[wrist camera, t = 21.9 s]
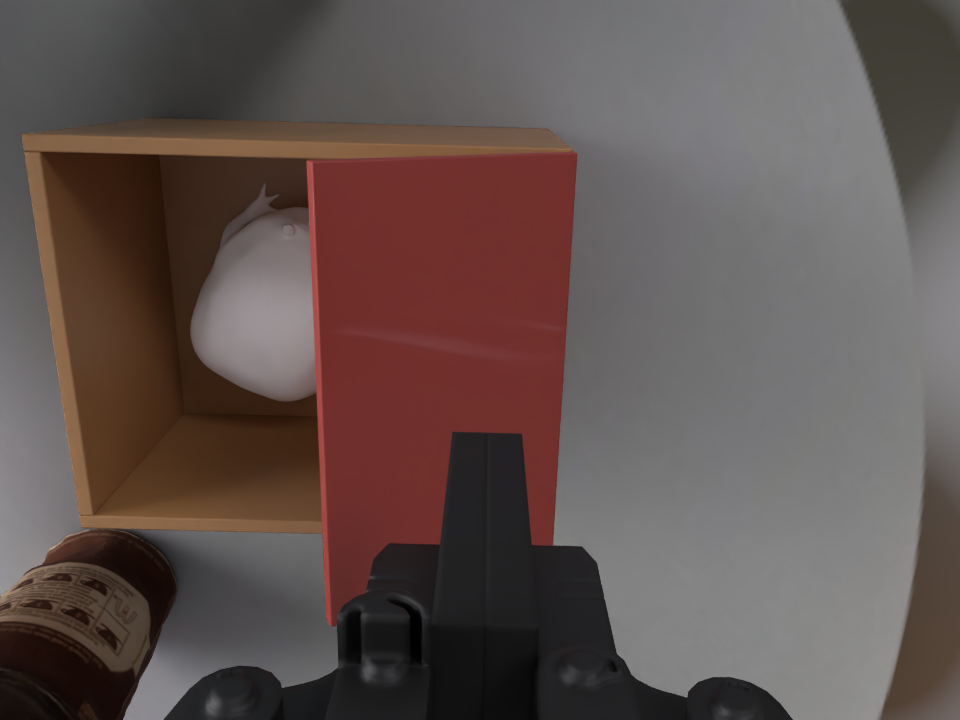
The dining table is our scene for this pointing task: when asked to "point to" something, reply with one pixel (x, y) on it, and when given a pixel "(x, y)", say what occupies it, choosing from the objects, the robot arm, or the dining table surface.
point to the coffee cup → (83, 627)
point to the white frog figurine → (260, 304)
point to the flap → (432, 337)
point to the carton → (186, 309)
